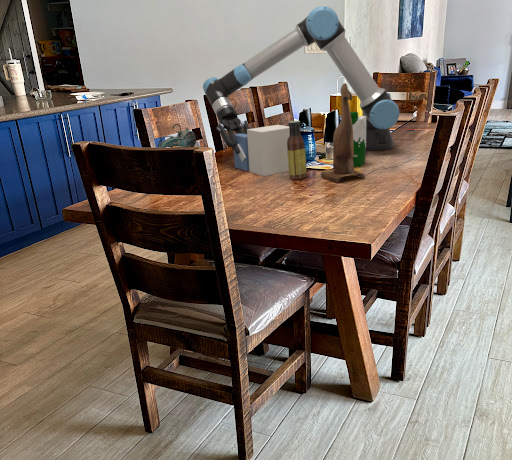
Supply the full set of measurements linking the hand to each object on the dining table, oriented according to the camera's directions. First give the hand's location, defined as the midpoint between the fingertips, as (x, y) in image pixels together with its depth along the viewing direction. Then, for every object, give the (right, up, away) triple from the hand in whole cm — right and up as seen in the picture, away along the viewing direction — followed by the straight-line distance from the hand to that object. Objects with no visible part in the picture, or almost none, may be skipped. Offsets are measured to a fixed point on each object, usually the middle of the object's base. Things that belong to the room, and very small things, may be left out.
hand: (249, 158), depth 196 cm
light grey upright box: (+6, -3, +3) cm, 7 cm away
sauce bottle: (+17, -9, -15) cm, 24 cm away
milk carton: (+40, -3, -1) cm, 40 cm away
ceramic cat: (-26, -9, -6) cm, 28 cm away
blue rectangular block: (-2, -3, +4) cm, 6 cm away
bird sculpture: (+33, -10, -19) cm, 39 cm away
